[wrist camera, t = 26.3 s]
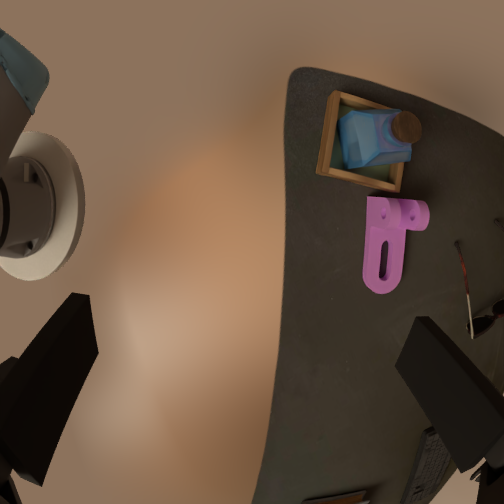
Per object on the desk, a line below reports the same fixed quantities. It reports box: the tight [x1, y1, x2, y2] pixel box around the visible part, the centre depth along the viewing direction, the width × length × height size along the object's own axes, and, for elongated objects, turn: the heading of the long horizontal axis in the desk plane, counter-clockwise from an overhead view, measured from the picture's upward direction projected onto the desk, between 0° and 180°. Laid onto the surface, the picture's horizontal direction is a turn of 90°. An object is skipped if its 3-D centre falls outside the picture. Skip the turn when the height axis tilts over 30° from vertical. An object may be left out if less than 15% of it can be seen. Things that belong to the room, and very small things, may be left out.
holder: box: [316, 90, 404, 193], centre depth 35 cm, size 11×11×3 cm
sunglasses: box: [455, 220, 504, 339], centre depth 38 cm, size 14×16×5 cm
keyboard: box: [400, 427, 451, 504], centre depth 49 cm, size 35×11×2 cm, turn 10°
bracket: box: [363, 196, 429, 294], centre depth 35 cm, size 13×6×7 cm, turn 179°
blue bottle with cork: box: [336, 109, 422, 169], centre depth 29 cm, size 6×6×12 cm
